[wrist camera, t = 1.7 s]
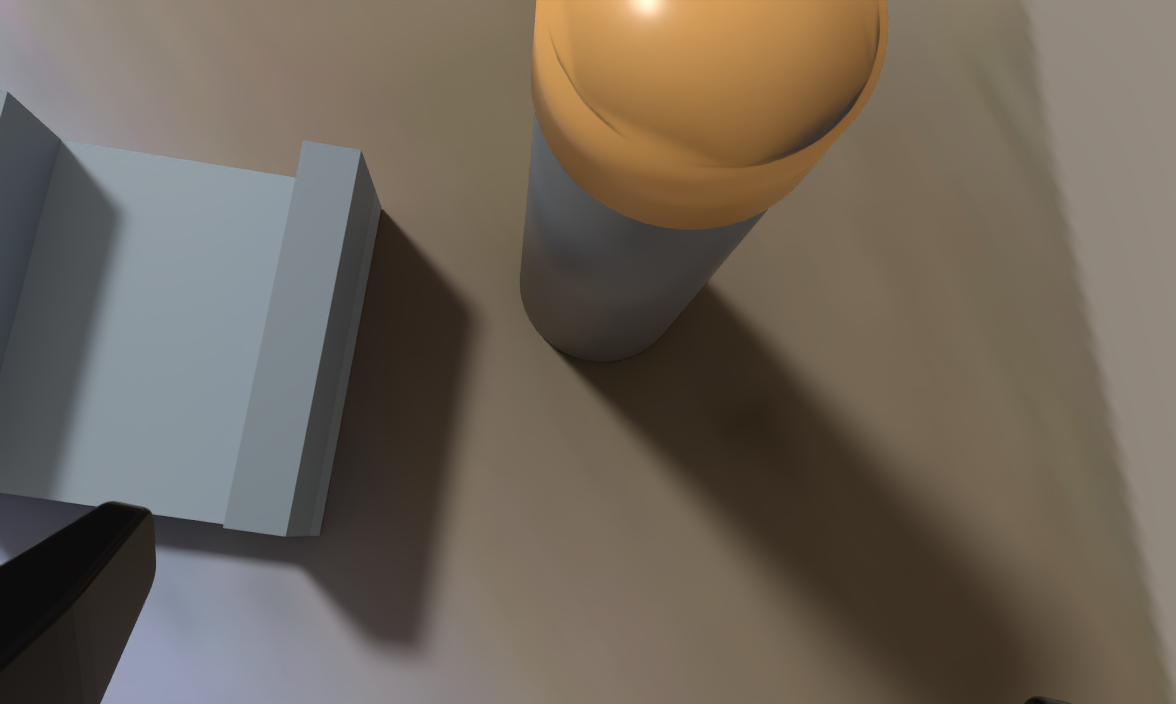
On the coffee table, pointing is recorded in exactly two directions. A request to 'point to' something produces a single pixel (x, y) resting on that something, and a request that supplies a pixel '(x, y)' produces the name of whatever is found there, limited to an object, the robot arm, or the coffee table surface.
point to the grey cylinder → (673, 147)
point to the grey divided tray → (177, 326)
